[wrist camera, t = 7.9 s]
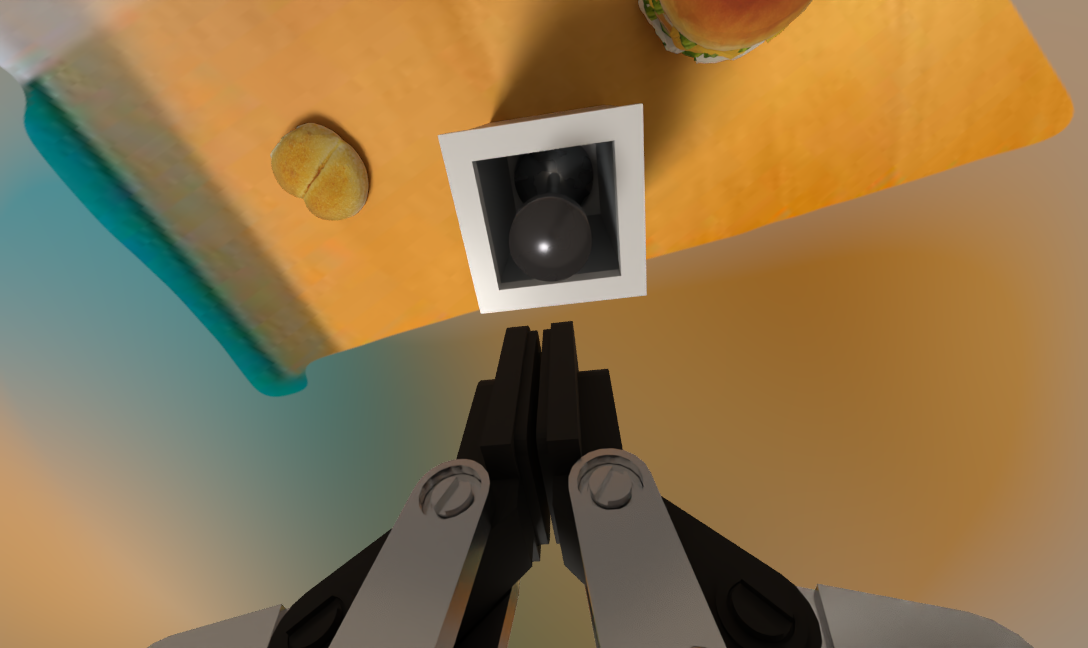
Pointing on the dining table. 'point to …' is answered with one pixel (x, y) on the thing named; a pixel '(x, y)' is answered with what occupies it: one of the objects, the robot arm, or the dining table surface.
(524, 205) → the plunger
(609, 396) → the robot arm
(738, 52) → the burger
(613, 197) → the grey tall box
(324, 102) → the dining table surface
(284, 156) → the bread roll
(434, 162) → the dining table surface
